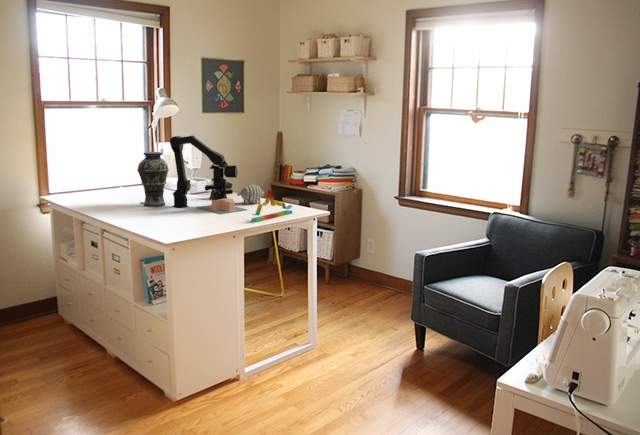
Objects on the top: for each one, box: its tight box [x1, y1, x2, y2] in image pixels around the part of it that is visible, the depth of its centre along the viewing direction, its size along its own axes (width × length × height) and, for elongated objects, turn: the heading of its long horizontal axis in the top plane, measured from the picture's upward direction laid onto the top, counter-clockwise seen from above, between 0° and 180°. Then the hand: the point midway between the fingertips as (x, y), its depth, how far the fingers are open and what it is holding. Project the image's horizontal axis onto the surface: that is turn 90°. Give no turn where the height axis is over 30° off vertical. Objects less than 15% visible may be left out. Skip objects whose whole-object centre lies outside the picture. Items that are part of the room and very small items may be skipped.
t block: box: [211, 197, 236, 211], centre depth 332 cm, size 12×10×5 cm
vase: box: [137, 151, 169, 208], centre depth 339 cm, size 17×17×30 cm
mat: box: [196, 204, 248, 215], centre depth 336 cm, size 18×23×1 cm
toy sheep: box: [236, 184, 265, 205], centre depth 354 cm, size 11×17×11 cm, turn 123°
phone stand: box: [209, 190, 228, 201], centre depth 366 cm, size 9×6×12 cm, turn 137°
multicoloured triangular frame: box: [251, 189, 293, 223], centre depth 316 cm, size 30×3×15 cm, turn 145°
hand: (218, 204), depth 337 cm, fingers closed
